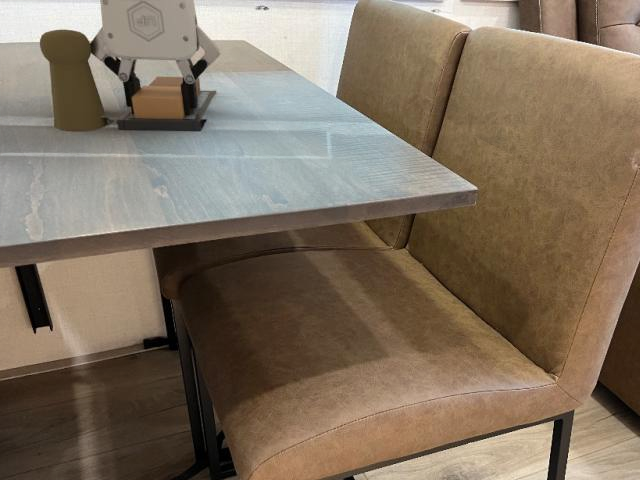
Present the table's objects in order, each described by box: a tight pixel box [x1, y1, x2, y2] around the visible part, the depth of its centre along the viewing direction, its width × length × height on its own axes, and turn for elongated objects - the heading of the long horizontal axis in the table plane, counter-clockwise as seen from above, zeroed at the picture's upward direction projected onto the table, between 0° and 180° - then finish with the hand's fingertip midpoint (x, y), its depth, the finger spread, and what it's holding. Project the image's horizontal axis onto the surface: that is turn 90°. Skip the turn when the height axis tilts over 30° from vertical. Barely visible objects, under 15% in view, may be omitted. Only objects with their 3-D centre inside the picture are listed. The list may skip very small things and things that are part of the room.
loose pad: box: [132, 85, 186, 119], centre depth 79 cm, size 6×6×3 cm
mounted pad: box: [148, 76, 202, 99], centre depth 86 cm, size 6×6×3 cm
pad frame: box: [116, 90, 217, 132], centre depth 83 cm, size 10×16×2 cm, turn 7°
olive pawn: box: [39, 29, 109, 133], centre depth 75 cm, size 6×6×11 cm
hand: (163, 111), depth 80 cm, fingers closed on loose pad, 5 cm apart
